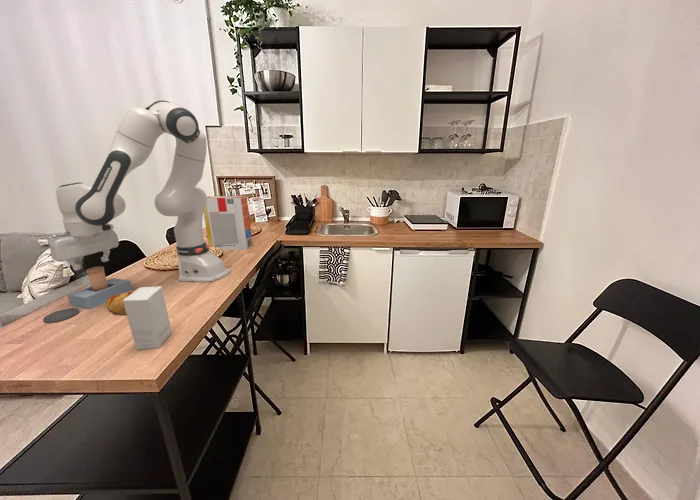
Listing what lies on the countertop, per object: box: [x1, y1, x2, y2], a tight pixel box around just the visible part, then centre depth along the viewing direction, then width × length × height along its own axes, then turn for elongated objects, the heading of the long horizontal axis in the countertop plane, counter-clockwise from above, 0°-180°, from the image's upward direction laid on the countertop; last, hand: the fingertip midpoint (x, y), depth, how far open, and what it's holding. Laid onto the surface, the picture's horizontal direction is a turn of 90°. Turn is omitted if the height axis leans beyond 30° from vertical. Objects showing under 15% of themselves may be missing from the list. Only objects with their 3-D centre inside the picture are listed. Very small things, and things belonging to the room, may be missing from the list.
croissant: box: [105, 290, 136, 315], centre depth 104 cm, size 21×10×8 cm, turn 72°
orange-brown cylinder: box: [85, 266, 109, 292], centre depth 112 cm, size 5×5×12 cm
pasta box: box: [203, 195, 254, 251], centre depth 172 cm, size 23×8×30 cm, turn 85°
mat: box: [42, 307, 80, 324], centre depth 101 cm, size 9×9×1 cm
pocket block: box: [66, 277, 134, 310], centre depth 113 cm, size 10×16×4 cm, turn 162°
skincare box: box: [123, 285, 173, 351], centre depth 83 cm, size 8×7×16 cm
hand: (92, 265), depth 110 cm, fingers open, 8 cm apart
